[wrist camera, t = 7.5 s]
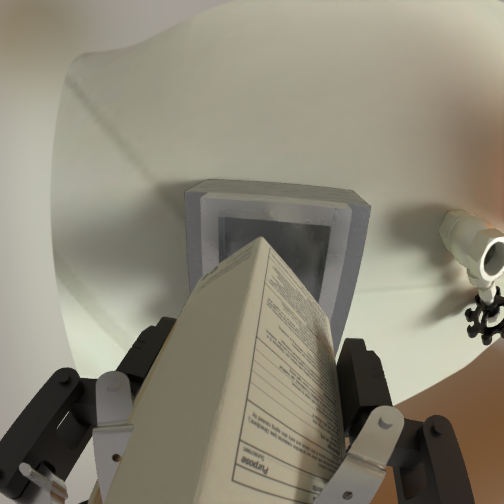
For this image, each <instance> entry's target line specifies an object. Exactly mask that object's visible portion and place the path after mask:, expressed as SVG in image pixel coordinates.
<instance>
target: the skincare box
mask: <svg viewBox="0 0 504 504" xmlns="http://www.w3.org/2000/svg"><path fill="white" fill-rule="evenodd" d="M130 423H133V426H134V429H133V432H132V434H131V437H130V439H129V441H128V444H127V446H126V449H125V451H124V453H123V456H122V458H121V456H118V457H117V458H116V460H115V462H120V463H119V466H118V468H117V471H116V473H115V476H114V478H113V481H112V483H111V486H110V489H109V491H108V494H107V497H106V499H105V502H104V504H311V503H312V502H313V500H314V499H315V498H316V497H317V495H318V494H319V493H320V491H321V490H322V489H323V487H324V486H325V483H326V481H327V480H328V478H329V477H330V475H331V474H332V472H333V471H334V470H335V468H336V467H337V466H338V465H339V463H340V462H341V461H342V459H343V458H344V456H345V455H346V449H345V437H344V427H343V417H342V408H341V399H340V391H339V383H338V376H337V369H336V362H335V355H334V348H333V342H332V336H331V330H330V324H329V319H328V317H327V316H326V314H325V313H324V312H323V310H322V309H321V307H320V306H319V305H318V303H317V302H316V301H315V299H314V298H313V297H312V295H311V294H310V293H309V291H308V290H307V289H306V288H305V286H304V285H303V284H302V283H301V281H300V280H299V279H298V278H297V276H296V275H295V274H294V273H293V271H292V270H291V269H290V268H289V267H288V266H287V264H286V263H285V262H284V261H283V260H282V258H281V257H280V256H279V255H278V254H277V253H276V251H275V250H274V249H273V248H272V247H271V246H270V245H269V244H268V242H267V241H266V240H265V239H264V238H263V237H258V238H257V239H255V240H253V241H252V242H250V243H249V244H247V245H246V246H244V247H243V248H241V249H240V250H238V251H237V252H235V253H234V254H232V255H231V256H229V257H228V258H227V259H225V260H224V261H222V262H221V263H219V264H218V265H217V266H215V267H214V268H213V269H211V270H210V271H209V272H208V273H206V274H205V275H204V276H202V277H201V278H200V279H199V281H198V282H197V284H196V286H195V288H194V289H193V291H192V293H191V295H190V296H189V298H188V300H187V302H186V304H185V305H184V307H183V309H182V311H181V313H180V315H179V316H178V318H177V320H176V322H175V324H174V326H173V328H172V329H171V331H170V333H169V335H168V337H167V339H166V341H165V342H164V344H163V346H162V348H161V350H160V352H159V354H158V356H157V358H156V359H155V361H154V363H153V365H152V367H151V369H150V371H149V373H148V375H147V377H146V378H145V380H144V382H143V384H142V386H141V389H140V390H139V392H138V394H137V396H136V398H135V400H134V402H133V410H132V412H131V414H130V416H129V418H128V420H127V424H130ZM88 504H103V502H102V497H101V492H100V487H99V482H98V479H97V481H96V484H95V486H94V488H93V491H92V493H91V496H90V498H89V500H88Z"/></svg>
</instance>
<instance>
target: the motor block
mask: <svg viewBox="0 0 504 504" xmlns="http://www.w3.org/2000/svg"><path fill="white" fill-rule="evenodd" d="M370 210H371V206H370V205H369V204H368V203H367V202H366V201H364V200H363V199H362V198H361V197H360V196H359V195H358V194H357V193H355V192H354V191H352V190H345V189H336V188H328V187H319V186H309V185H298V184H287V183H274V182H259V181H242V180H219V179H208V180H206V181H204V182H202V183H200V184H198V185H196V186H194V187H192V188H190V189H189V190H187V191H185V219H186V240H187V257H188V272H189V285H190V295H191V293H192V291H193V289H194V288H195V286H196V284H197V282H198V281H199V279H200V278H201V277H202V276H204V275H205V274H206V273H208V272H209V271H210V270H211V269H213V268H214V267H215V266H217V265H218V264H219V263H221V262H222V261H224V260H225V259H227V258H228V257H229V256H231V255H232V254H234V253H235V252H237V251H238V250H240V249H241V248H243V247H244V246H246V245H247V244H249V243H250V242H252V241H253V240H255V239H257V238H258V237H263V238H264V239H265V240H266V241H267V242H268V244H269V245H270V246H271V247H272V248H273V249H274V250H275V251H276V253H277V254H278V255H279V256H280V257H281V258H282V260H283V261H284V262H285V263H286V264H287V266H288V267H289V268H290V269H291V270H292V271H293V273H294V274H295V275H296V276H297V278H298V279H299V280H300V281H301V283H302V284H303V285H304V286H305V288H306V289H307V290H308V291H309V293H310V294H311V295H312V297H313V298H314V299H315V301H316V302H317V303H318V305H319V306H320V307H321V309H322V310H323V312H324V313H325V314H326V316H327V317H328V319H329V324H330V330H331V336H332V342H333V348H334V355H335V357H336V354H337V351H338V347H339V344H340V341H341V338H342V334H343V331H344V328H345V324H346V321H347V317H348V313H349V310H350V306H351V302H352V298H353V294H354V290H355V286H356V282H357V277H358V273H359V269H360V264H361V259H362V255H363V250H364V245H365V239H366V234H367V228H368V223H369V217H370Z"/></svg>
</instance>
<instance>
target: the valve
mask: <svg viewBox="0 0 504 504" xmlns="http://www.w3.org/2000/svg"><path fill="white" fill-rule="evenodd" d="M438 232H439V234H440V236H441V239H442V241H443V243H444V245H445V247H446V248H447V249H448V250H449V251H450V252H451V253H452V254H453V256H454V257H455V259H456V260H457V261H458V262H459V263H460V264H461V265H462V266H464V267H465V268H467V275H468V278H469V281H470V283H471V284H472V285H473V286H476V287H477V289H478V293H479V294H478V295H476V296H475V301H476V305H477V308H476V310H475V311H471V308H469V309H467V310H466V311H465V316H466V320H467V321H468V322H472V321H474V325H473V326H472V327H471V326H470V325H469V326H468V327H467V332H468V336H469V337H470V338H474V337H476V335H477V334H478V333H481V334H483V335H482V336H481V338H482V343H483V344H484V345H489V344H490V343H491V342H492V336H493V335H494V334H496V333H500V335H501V337H502V338H504V319H503V320H502V321H501V322H500V323H499V324H498V325H496V326H494V327H487V325H486V323H487V321H488V322H489V323H492V322H495V321H497V319H498V317H499V314H500V306H504V297H502V296H501V293H500V288H499V287H498V286H495V282H494V281H493V280H495V279H497V278H499V277H500V276H501V274H502V273H503V272H504V233H502V232H501V231H499V230H497V229H496V228H492V226H491V225H490V224H489V222H487V221H486V220H485V219H484V218H482V217H480V216H476V215H472V214H470V213H468V212H466V211H465V210H457V211H448V212H447V213H446V215H445V218H444V220H443V222H442V224H441V226H440V228H439V231H438ZM482 311H483V316H482V320H481V324H480V323H479V315H480V313H481V312H482Z"/></svg>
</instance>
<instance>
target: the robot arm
mask: <svg viewBox="0 0 504 504" xmlns="http://www.w3.org/2000/svg"><path fill="white" fill-rule="evenodd" d="M176 320H177V319H174V318H169V317H162V318H161V319H160V321H159V322H158V324H157V325H156V326H150V327H148V328H147V329H145V330H144V331H142V332H141V334H140V335H139V337H138V338H137V341H135V343H134V344H133V345H132V348H130V350H129V351H128V353H127V354H126V356H125V357H124V359H123V360H122V362H121V363H120V365H119V366H118V368H117V369H116V370H115V371H110V372H106V373H104V374H103V375H101V376H100V377H99V378H98V379H89V378H80V376H79V374H78V373H77V371H76V370H74V369H72V368H61V369H59V370H57V371H56V372H55V373H54V374H53V375H52V376H51V377H50V378H49V380H48V381H47V382H46V383H45V384H44V386H43V387H42V388H41V389H40V390H39V392H38V393H37V394H36V395H35V397H34V398H33V399H32V400H31V401H30V403H29V404H28V405H27V406H26V408H25V409H24V410H23V411H22V413H21V414H20V415H19V417H18V418H17V419H16V421H15V422H14V423H13V424H12V426H11V427H10V428H9V430H8V431H7V433H6V434H5V435H4V437H3V438H2V440H1V441H0V492H1V493H2V494H4V495H5V496H6V497H7V498H9V499H11V500H12V501H14V502H16V503H17V504H65V500H66V499H67V498H68V494H67V489H66V485H65V483H64V482H65V480H66V478H67V477H68V475H69V473H70V472H71V470H72V468H73V467H74V465H75V463H76V462H77V460H78V458H79V457H80V455H81V453H82V452H83V450H84V448H85V447H86V445H87V443H88V442H89V440H90V439H91V437H92V435H93V445H94V454H95V462H96V469H97V475H98V482H99V487H100V492H101V497H102V502H103V504H104V502H105V499H106V497H107V494H108V491H109V489H110V486H111V483H112V481H113V478H114V476H115V473H116V471H117V468H118V466H119V463H120V462H115V460H116V458H117V457H118V456H121V458H122V456H123V453H124V451H125V449H126V446H127V444H128V441H129V439H130V437H131V434H132V432H133V429H134V426H133V423H130V424H127V420H128V418H129V416H130V414H131V412H132V410H133V402H134V400H135V398H136V396H137V394H138V392H139V390H140V389H141V386H142V384H143V382H144V380H145V378H146V377H147V375H148V373H149V371H150V369H151V367H152V365H153V363H154V361H155V359H156V358H157V356H158V354H159V352H160V350H161V348H162V346H163V344H164V342H165V341H166V339H167V337H168V335H169V333H170V331H171V329H172V328H173V326H174V324H175V322H176ZM336 369H337V376H338V383H339V391H340V399H341V408H342V417H343V427H344V437H349V440H350V444H349V446H348V447H347V449H346V455H345V456H344V458H343V459H342V461H341V462H340V463H339V465H338V466H337V467H336V468H335V470H334V471H333V472H332V474H331V475H330V477H329V478H328V480H327V481H326V483H325V486H324V487H323V489H322V490H321V491H320V493H319V494H318V495H317V497H316V498H315V499H314V500H313V502H312V503H311V504H369V503H370V501H371V500H372V498H373V496H374V495H375V493H376V491H377V489H378V488H379V486H380V484H381V482H382V480H383V478H384V476H385V474H386V470H384V469H385V466H392V467H393V472H394V478H395V484H396V490H397V498H398V504H475V502H474V497H473V493H472V489H471V485H470V481H469V478H468V474H467V470H466V467H465V463H464V460H463V457H462V453H461V450H460V447H459V444H458V442H457V438H456V436H455V433H454V430H453V428H452V425H451V423H450V421H449V420H448V419H447V418H445V417H443V416H440V415H433V416H431V417H429V418H427V419H426V421H425V422H420V421H414V420H409V419H406V418H403V415H402V414H401V412H400V411H399V410H397V409H396V408H394V407H393V405H392V401H391V397H390V393H389V389H388V386H387V382H386V378H385V375H384V371H383V368H382V364H381V361H380V358H379V357H378V356H377V355H376V354H375V352H374V351H367V350H366V346H365V342H364V340H363V339H357V338H346V339H345V341H344V344H343V347H342V350H341V353H340V356H339V359H338V362H337V365H336ZM68 411H69V413H68V414H67V412H68ZM66 414H67V416H66V417H65V415H66ZM64 417H65V419H64V420H63V418H64ZM62 420H63V421H62ZM61 421H62V423H61V424H60V422H61ZM59 424H60V426H59V427H58V425H59ZM57 427H58V429H57ZM79 504H88V500H87V501H84V502H81V503H79Z"/></svg>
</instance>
